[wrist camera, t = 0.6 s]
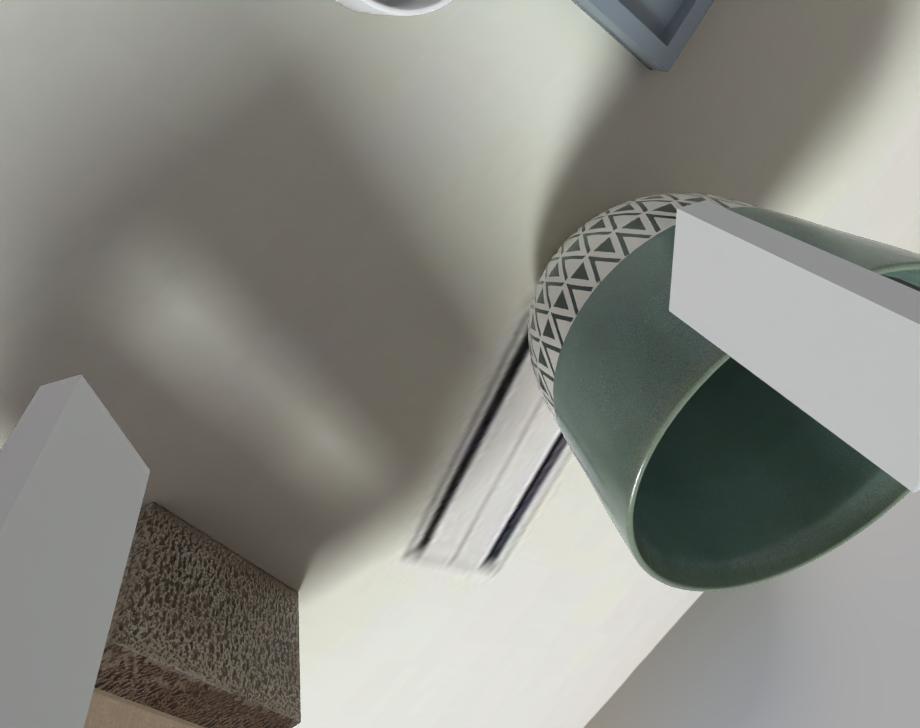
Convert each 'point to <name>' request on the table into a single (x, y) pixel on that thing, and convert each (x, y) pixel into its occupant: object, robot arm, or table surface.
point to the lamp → (196, 637)
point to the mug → (394, 6)
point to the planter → (693, 408)
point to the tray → (648, 26)
